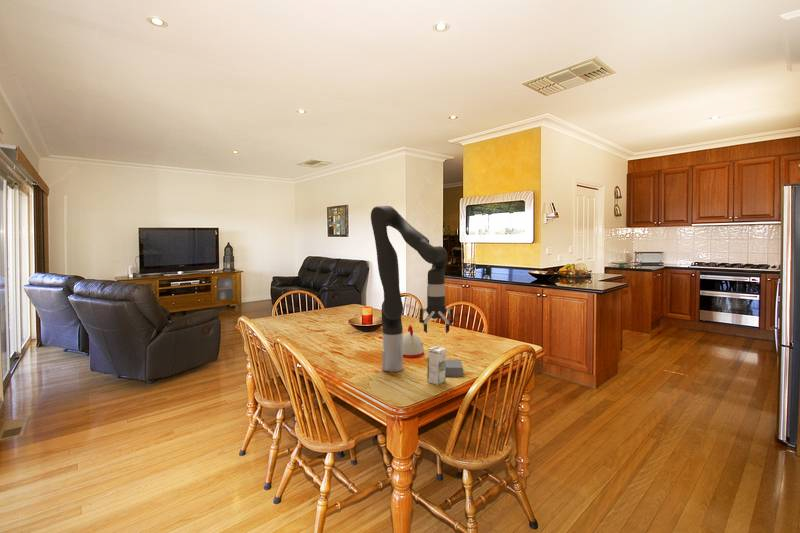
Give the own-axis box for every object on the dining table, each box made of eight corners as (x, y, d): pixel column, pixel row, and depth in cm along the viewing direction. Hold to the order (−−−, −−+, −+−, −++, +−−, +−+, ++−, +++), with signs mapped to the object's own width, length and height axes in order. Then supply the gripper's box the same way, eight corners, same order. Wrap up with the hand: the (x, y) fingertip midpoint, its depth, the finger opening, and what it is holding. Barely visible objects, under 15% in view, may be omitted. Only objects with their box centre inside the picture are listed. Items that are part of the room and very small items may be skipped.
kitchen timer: (400, 359, 196) (400, 329, 195) (395, 351, 210) (394, 323, 208) (426, 356, 199) (426, 328, 198) (420, 349, 213) (419, 322, 211)
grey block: (437, 376, 172) (437, 367, 172) (437, 367, 183) (437, 359, 183) (462, 376, 171) (462, 367, 171) (460, 367, 182) (460, 359, 182)
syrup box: (434, 378, 170) (434, 345, 169) (446, 381, 166) (446, 347, 165) (427, 382, 165) (426, 348, 164) (438, 385, 162) (438, 351, 160)
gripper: (418, 295, 159) (419, 334, 161) (453, 295, 158) (454, 335, 160) (419, 293, 167) (419, 330, 168) (452, 292, 166) (453, 330, 167)
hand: (436, 332), depth 164 cm, fingers open, 8 cm apart
